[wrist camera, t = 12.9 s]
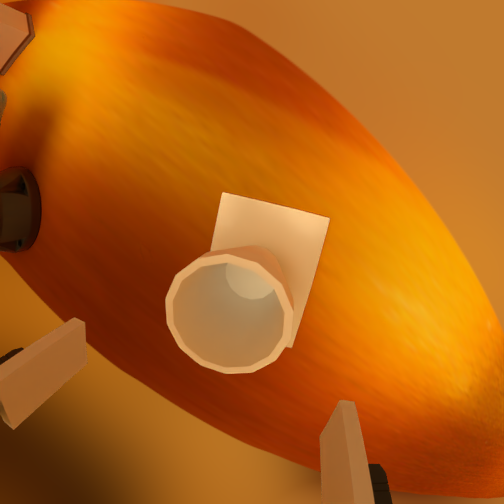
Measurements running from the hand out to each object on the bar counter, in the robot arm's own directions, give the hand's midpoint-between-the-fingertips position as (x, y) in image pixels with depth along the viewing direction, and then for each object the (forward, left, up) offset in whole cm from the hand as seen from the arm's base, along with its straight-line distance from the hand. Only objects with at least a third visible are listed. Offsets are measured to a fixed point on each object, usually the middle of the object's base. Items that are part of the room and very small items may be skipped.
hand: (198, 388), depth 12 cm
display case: (-62, +34, -23) cm, 74 cm away
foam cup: (0, 0, -21) cm, 21 cm away
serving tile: (0, 0, -23) cm, 23 cm away
